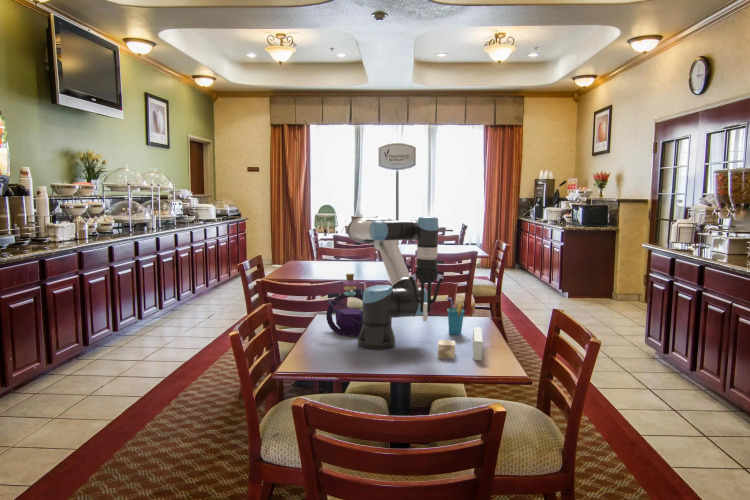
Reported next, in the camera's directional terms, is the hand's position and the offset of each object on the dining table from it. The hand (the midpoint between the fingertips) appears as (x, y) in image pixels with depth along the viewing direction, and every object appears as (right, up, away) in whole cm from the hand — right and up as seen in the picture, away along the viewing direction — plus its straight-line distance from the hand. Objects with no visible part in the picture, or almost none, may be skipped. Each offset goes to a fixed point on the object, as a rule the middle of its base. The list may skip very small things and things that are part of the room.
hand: (425, 320), depth 191 cm
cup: (+16, -10, +30) cm, 35 cm away
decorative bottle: (-30, -9, +31) cm, 44 cm away
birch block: (+8, -13, 0) cm, 16 cm away
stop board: (+21, -13, +5) cm, 25 cm away
